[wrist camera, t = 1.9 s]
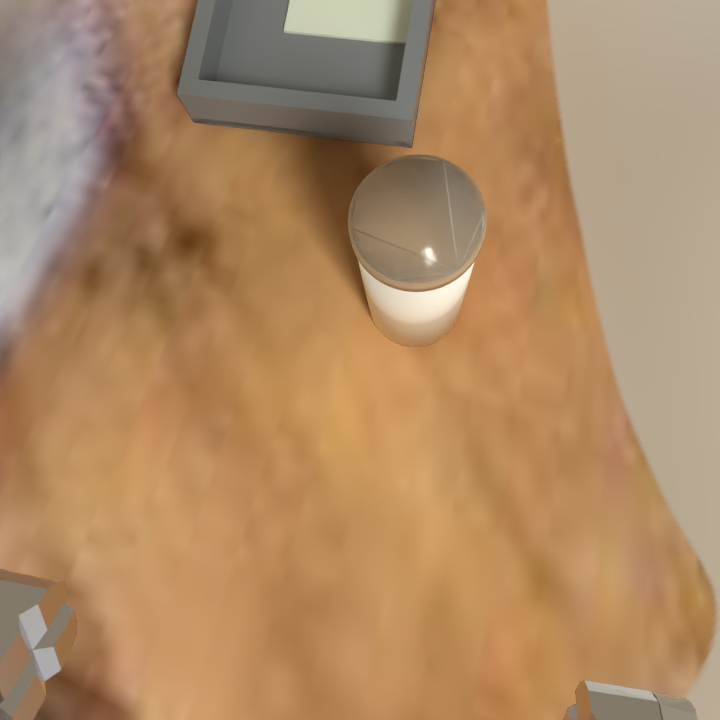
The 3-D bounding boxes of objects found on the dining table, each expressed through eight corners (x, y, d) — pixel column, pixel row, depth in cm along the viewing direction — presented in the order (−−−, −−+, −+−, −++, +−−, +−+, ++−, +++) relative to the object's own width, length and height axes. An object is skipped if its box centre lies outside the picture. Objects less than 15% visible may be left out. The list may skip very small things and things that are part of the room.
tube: (360, 341, 37) (337, 276, 25) (375, 251, 38) (359, 147, 26) (455, 355, 36) (477, 295, 25) (468, 263, 37) (495, 163, 25)
